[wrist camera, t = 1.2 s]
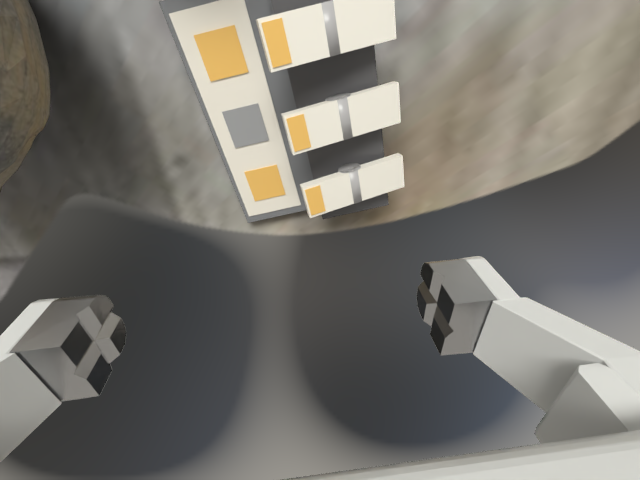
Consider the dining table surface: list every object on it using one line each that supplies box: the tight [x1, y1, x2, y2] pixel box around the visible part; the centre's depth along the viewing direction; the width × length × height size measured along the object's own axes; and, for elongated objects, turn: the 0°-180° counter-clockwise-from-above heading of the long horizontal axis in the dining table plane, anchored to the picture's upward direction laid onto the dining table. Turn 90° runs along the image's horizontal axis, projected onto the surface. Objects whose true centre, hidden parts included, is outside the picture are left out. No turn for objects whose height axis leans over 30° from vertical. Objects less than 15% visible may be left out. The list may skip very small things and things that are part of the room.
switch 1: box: [256, 0, 396, 73], centre depth 26 cm, size 11×4×2 cm, turn 102°
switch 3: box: [300, 153, 404, 218], centre depth 34 cm, size 11×4×2 cm, turn 102°
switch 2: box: [281, 81, 401, 155], centre depth 30 cm, size 11×4×2 cm, turn 102°
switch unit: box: [159, 0, 388, 223], centre depth 33 cm, size 18×24×6 cm
